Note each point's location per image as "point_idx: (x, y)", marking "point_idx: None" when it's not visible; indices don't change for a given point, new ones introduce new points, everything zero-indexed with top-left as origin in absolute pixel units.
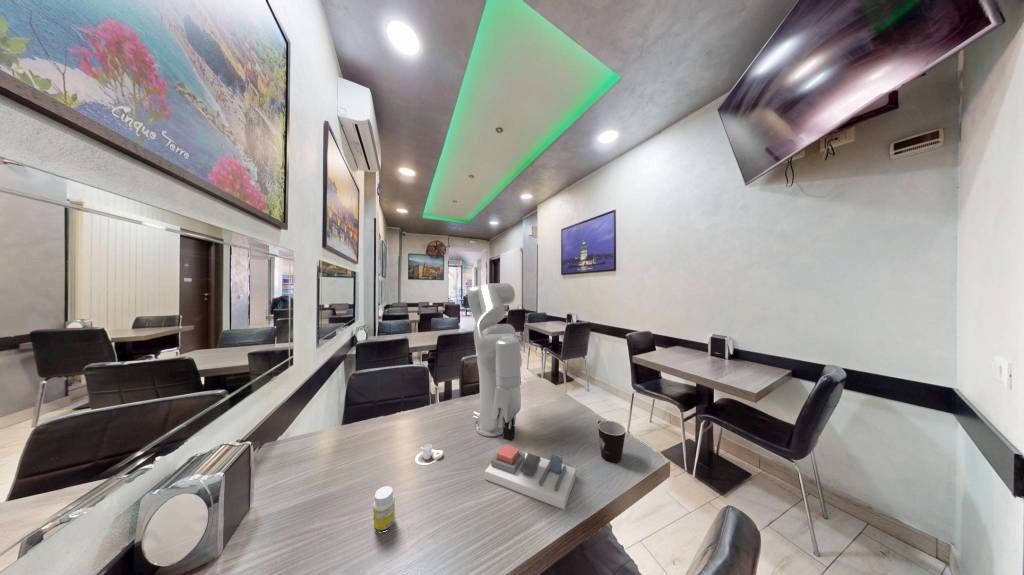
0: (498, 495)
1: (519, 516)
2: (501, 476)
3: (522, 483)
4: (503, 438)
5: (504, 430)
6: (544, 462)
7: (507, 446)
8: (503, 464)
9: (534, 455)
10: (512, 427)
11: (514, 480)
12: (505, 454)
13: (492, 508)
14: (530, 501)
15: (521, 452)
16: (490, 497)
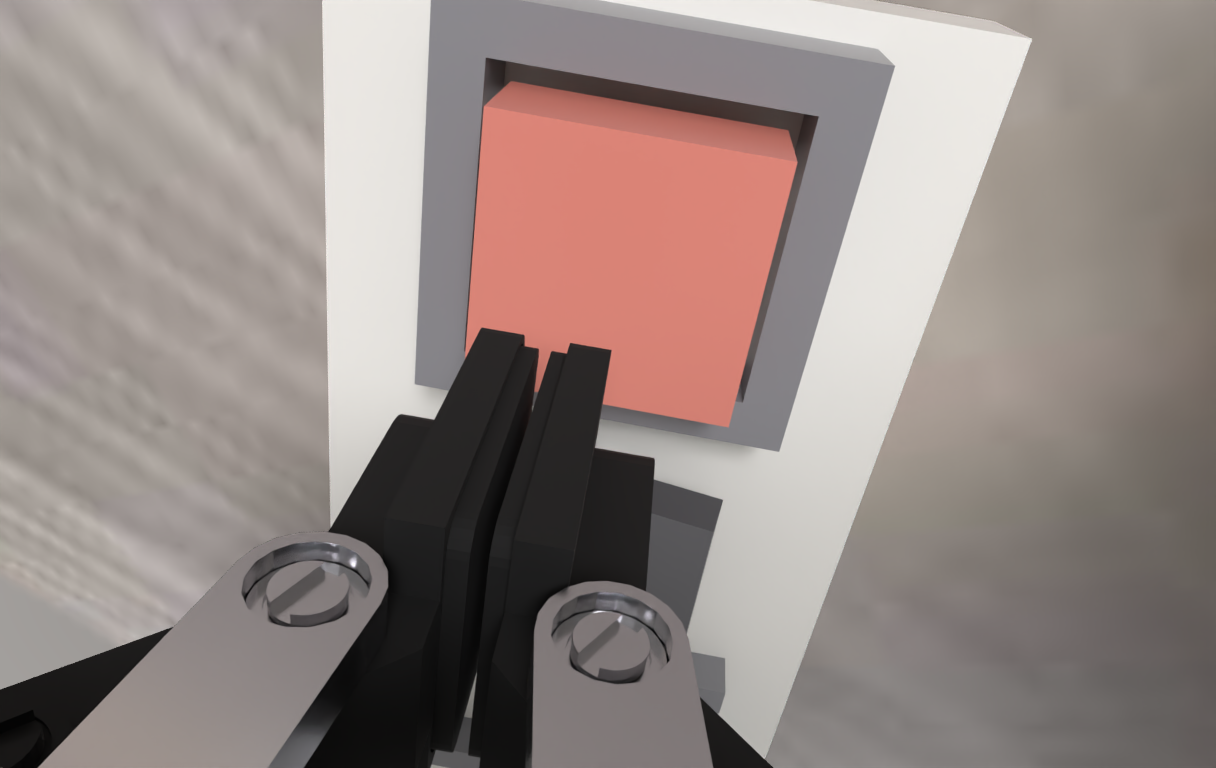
0: (230, 186)
1: (135, 429)
2: (339, 203)
3: (349, 456)
4: (484, 330)
5: (332, 527)
6: (751, 612)
7: (752, 225)
8: (430, 222)
9: (689, 602)
10: (474, 741)
11: (349, 370)
12: (519, 255)
13: (61, 180)
14: (318, 484)
15: (776, 406)
16: (161, 107)
